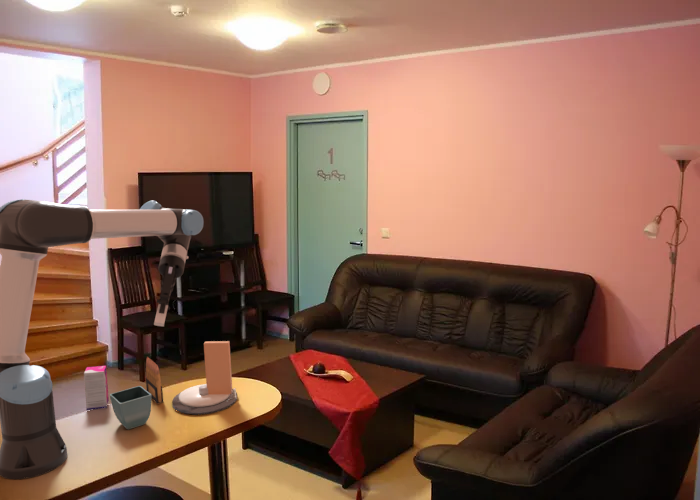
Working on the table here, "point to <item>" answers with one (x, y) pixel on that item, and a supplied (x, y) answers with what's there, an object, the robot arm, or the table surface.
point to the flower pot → (132, 406)
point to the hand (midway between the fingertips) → (159, 324)
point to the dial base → (204, 410)
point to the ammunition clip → (153, 381)
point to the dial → (212, 377)
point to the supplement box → (96, 387)
